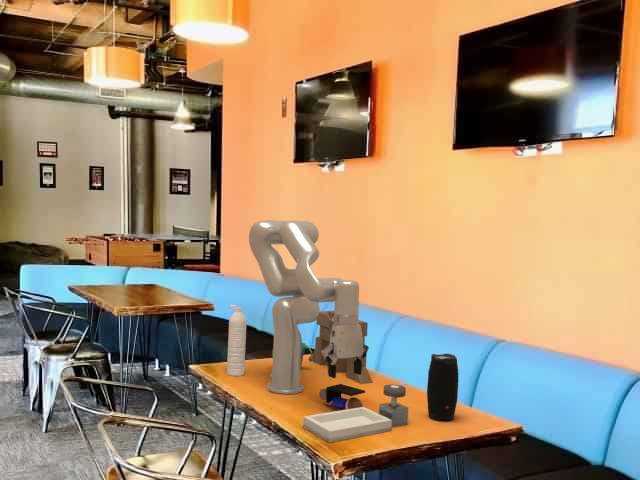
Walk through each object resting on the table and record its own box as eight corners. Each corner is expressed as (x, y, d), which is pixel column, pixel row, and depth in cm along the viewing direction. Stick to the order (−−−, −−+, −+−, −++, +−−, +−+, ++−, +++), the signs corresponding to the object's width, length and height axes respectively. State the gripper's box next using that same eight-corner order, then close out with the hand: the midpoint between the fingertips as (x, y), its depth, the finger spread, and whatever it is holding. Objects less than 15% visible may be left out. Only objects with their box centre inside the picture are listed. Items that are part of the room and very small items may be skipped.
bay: (302, 427, 168) (303, 416, 168) (362, 416, 180) (363, 406, 180) (329, 442, 157) (329, 431, 157) (391, 430, 169) (391, 420, 169)
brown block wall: (303, 360, 250) (306, 306, 249) (321, 358, 255) (323, 305, 254) (359, 384, 216) (362, 322, 215) (378, 382, 221) (381, 321, 220)
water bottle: (247, 375, 221) (250, 307, 221) (231, 377, 218) (234, 308, 217) (236, 369, 229) (239, 304, 228) (221, 371, 225) (223, 305, 224)
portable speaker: (456, 423, 177) (459, 360, 177) (424, 420, 179) (428, 357, 179) (456, 415, 185) (459, 354, 185) (426, 411, 188) (429, 351, 187)
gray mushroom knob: (378, 409, 177) (379, 384, 176) (394, 406, 180) (396, 382, 180) (392, 415, 171) (393, 390, 171) (409, 412, 175) (410, 388, 175)
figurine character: (317, 409, 189) (351, 417, 178) (317, 385, 190) (350, 391, 179) (333, 406, 194) (367, 413, 183) (332, 382, 194) (366, 387, 183)
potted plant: (312, 367, 238) (313, 342, 238) (310, 374, 228) (311, 347, 227) (273, 365, 239) (274, 339, 239) (269, 371, 229) (270, 344, 228)
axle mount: (378, 420, 177) (379, 404, 176) (394, 418, 180) (394, 401, 180) (391, 427, 172) (392, 410, 171) (407, 424, 175) (408, 407, 175)
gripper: (330, 323, 178) (328, 381, 178) (375, 320, 187) (374, 375, 187) (316, 320, 184) (314, 376, 184) (361, 317, 193) (359, 370, 193)
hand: (344, 375), depth 185 cm, fingers open, 9 cm apart
